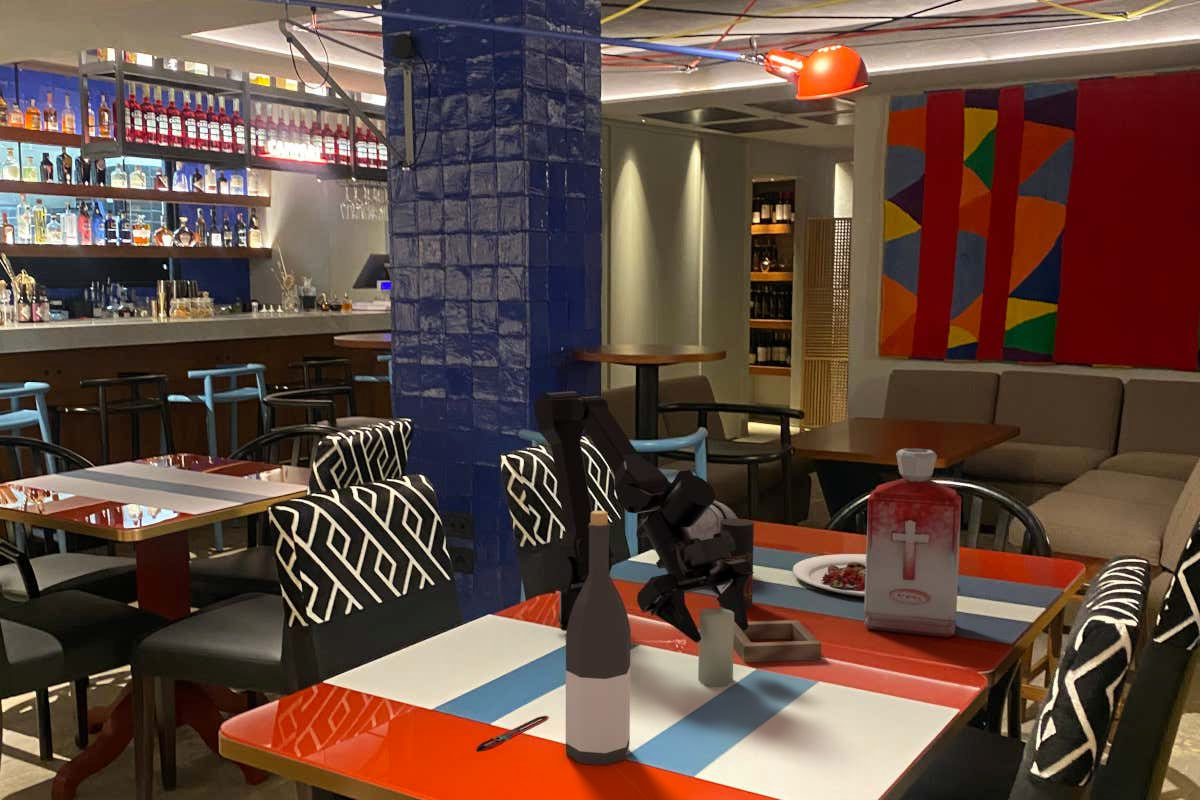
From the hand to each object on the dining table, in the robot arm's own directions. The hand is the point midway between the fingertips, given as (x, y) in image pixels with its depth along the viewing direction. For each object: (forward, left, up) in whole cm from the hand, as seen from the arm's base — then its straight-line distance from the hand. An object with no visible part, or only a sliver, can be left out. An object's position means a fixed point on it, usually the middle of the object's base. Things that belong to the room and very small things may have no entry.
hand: (722, 635), depth 163 cm
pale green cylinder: (-1, +1, -7) cm, 7 cm away
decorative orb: (+10, +59, -7) cm, 61 cm away
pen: (-31, -15, -8) cm, 35 cm away
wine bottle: (-21, -22, -7) cm, 31 cm away
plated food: (+41, +51, -8) cm, 66 cm away
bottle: (+37, +22, -7) cm, 44 cm away
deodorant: (+11, +38, -7) cm, 41 cm away
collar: (+11, +14, -7) cm, 19 cm away
